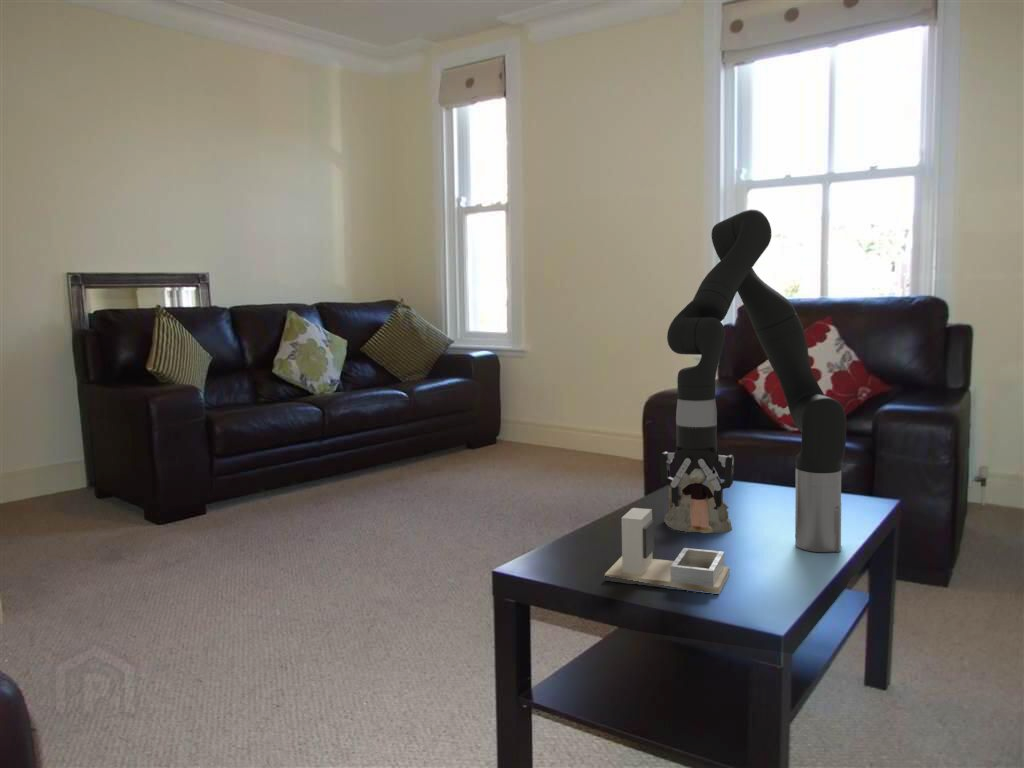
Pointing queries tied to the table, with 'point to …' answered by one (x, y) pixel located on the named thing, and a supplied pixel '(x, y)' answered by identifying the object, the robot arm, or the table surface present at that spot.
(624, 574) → the cream base plate
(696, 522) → the grandmother figurine
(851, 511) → the table surface
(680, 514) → the beige jagged towered block
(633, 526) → the white box with panel
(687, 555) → the slot walls
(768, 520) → the table surface
